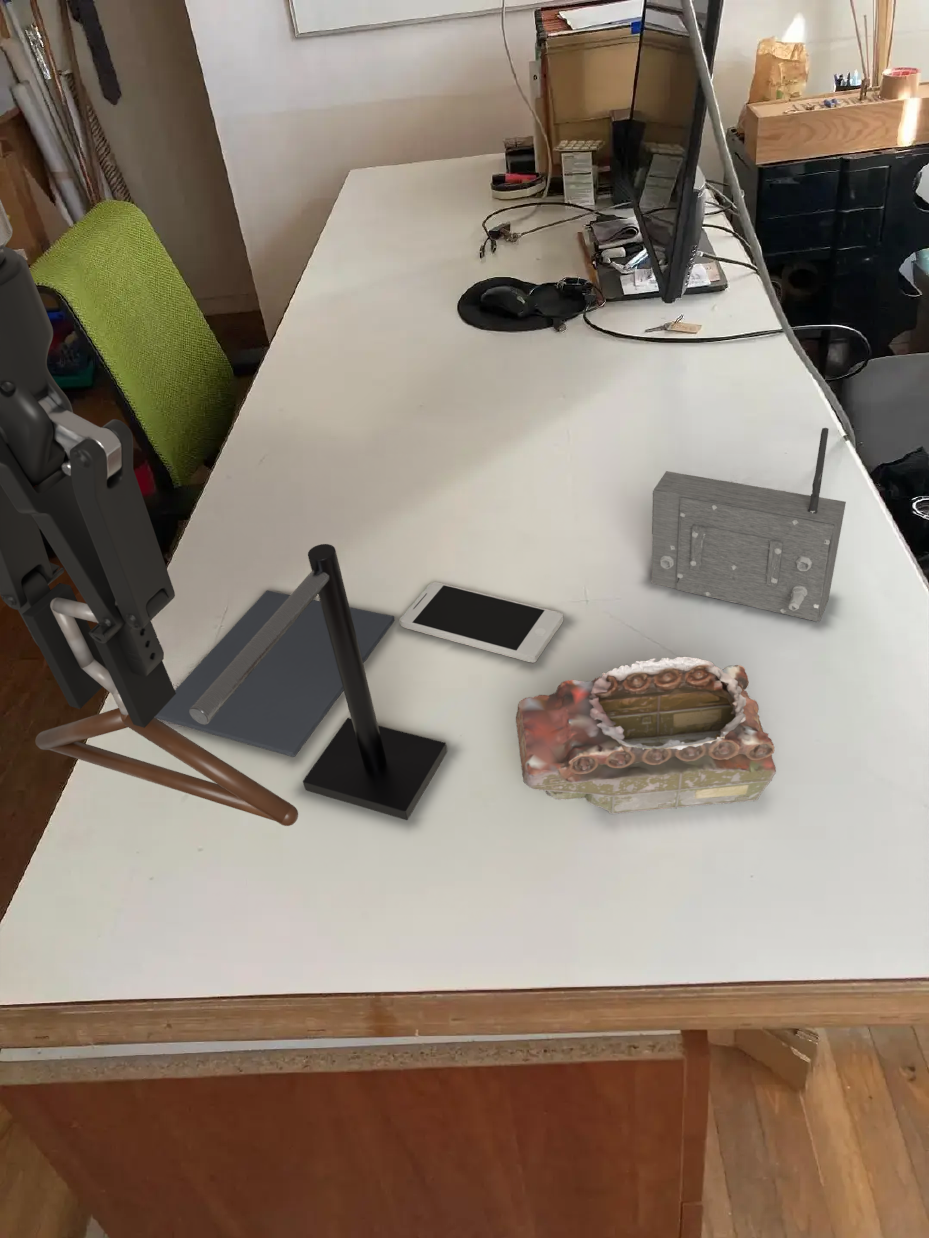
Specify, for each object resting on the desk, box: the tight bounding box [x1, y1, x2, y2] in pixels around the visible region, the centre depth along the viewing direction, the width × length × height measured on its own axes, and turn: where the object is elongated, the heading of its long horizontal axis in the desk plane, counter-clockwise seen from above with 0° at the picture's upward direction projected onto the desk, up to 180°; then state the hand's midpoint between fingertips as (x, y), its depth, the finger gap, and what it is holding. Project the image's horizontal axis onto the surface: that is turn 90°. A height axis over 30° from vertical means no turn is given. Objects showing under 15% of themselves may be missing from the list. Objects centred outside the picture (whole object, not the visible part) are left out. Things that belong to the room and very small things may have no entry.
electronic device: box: [650, 427, 847, 622], centre depth 88 cm, size 17×7×20 cm, turn 61°
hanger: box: [35, 598, 299, 827], centre depth 51 cm, size 19×1×14 cm, turn 66°
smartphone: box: [399, 581, 564, 663], centre depth 95 cm, size 7×16×1 cm, turn 62°
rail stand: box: [189, 543, 448, 821], centre depth 70 cm, size 20×10×24 cm, turn 156°
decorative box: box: [515, 656, 777, 815], centre depth 73 cm, size 13×20×10 cm, turn 86°
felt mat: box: [155, 590, 396, 758], centre depth 93 cm, size 16×20×1 cm
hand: (122, 699), depth 51 cm, fingers closed on hanger, 4 cm apart
